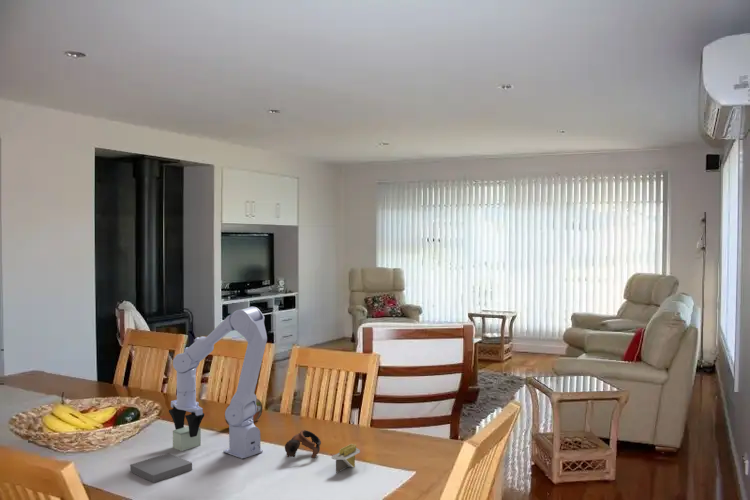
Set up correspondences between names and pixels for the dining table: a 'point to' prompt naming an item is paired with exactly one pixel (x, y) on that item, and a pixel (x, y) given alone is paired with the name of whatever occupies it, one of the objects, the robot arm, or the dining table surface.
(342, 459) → the platform
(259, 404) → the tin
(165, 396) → the dining table surface
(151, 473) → the stand
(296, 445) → the brown curved band
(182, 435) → the block
